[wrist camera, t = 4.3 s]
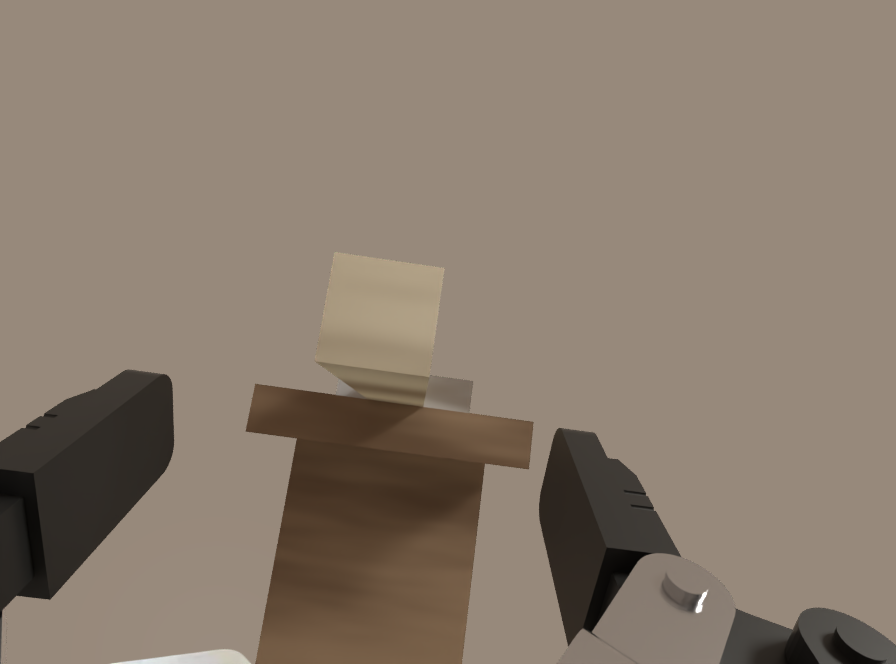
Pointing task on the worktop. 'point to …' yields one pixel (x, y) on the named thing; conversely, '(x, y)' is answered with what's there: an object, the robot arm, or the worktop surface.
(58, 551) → the robot arm
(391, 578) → the stand
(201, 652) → the worktop surface
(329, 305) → the beige block
